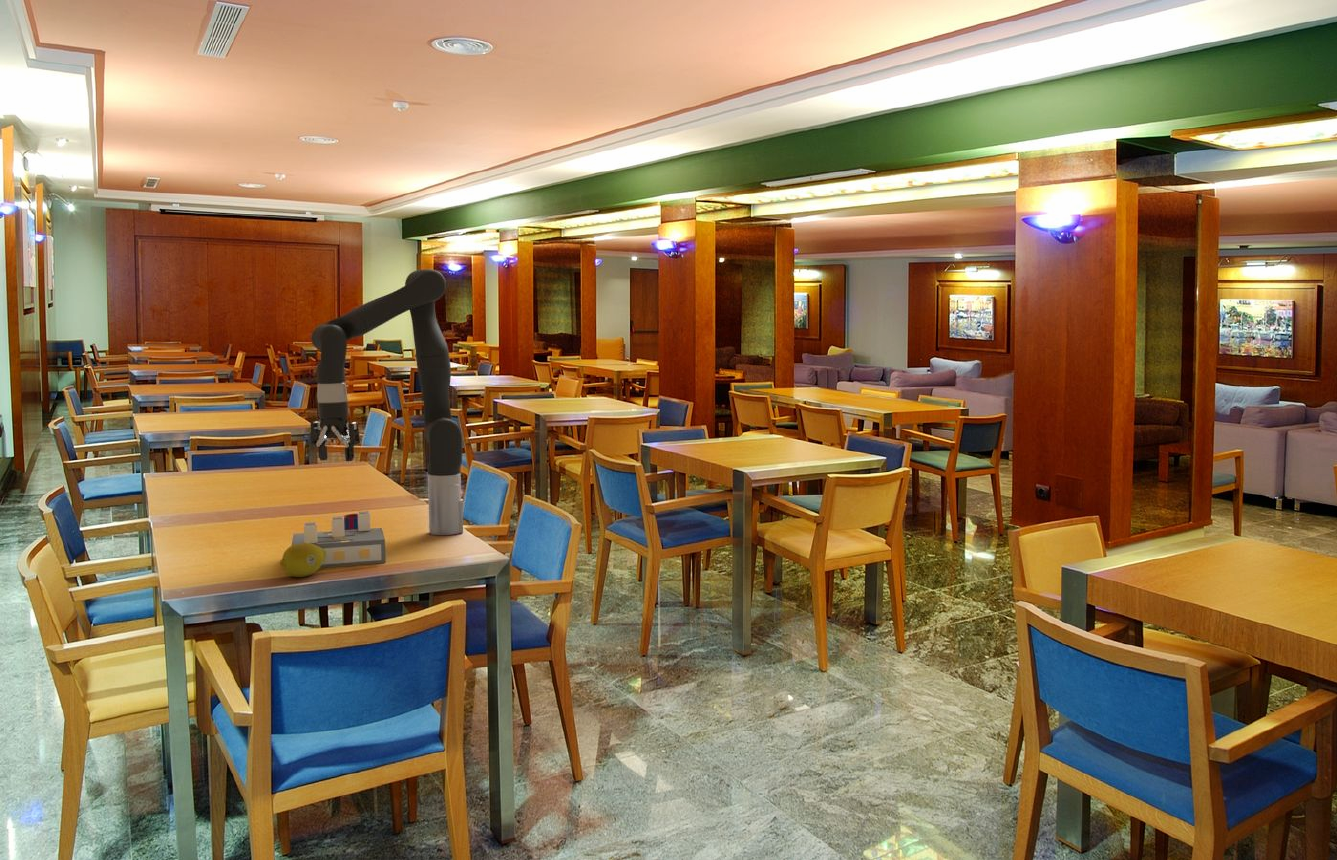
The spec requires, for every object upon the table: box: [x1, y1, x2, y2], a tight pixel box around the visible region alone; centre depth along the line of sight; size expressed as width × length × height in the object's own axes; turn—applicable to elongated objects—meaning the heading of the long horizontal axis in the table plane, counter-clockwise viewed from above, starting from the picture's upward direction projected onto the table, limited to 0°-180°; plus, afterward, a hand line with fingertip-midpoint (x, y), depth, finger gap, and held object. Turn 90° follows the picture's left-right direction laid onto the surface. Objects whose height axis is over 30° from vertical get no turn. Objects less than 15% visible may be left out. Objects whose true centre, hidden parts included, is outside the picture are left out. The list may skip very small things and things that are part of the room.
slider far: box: [357, 510, 371, 531], centre depth 256 cm, size 3×3×5 cm
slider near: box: [303, 521, 318, 543], centre depth 241 cm, size 3×3×5 cm
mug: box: [343, 513, 358, 530], centre depth 273 cm, size 7×10×7 cm
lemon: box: [279, 543, 326, 578], centre depth 233 cm, size 11×8×8 cm
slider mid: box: [331, 515, 345, 537], centre depth 249 cm, size 3×3×5 cm
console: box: [290, 527, 387, 569], centre depth 249 cm, size 22×16×6 cm
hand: (336, 460), depth 261 cm, fingers open, 8 cm apart
